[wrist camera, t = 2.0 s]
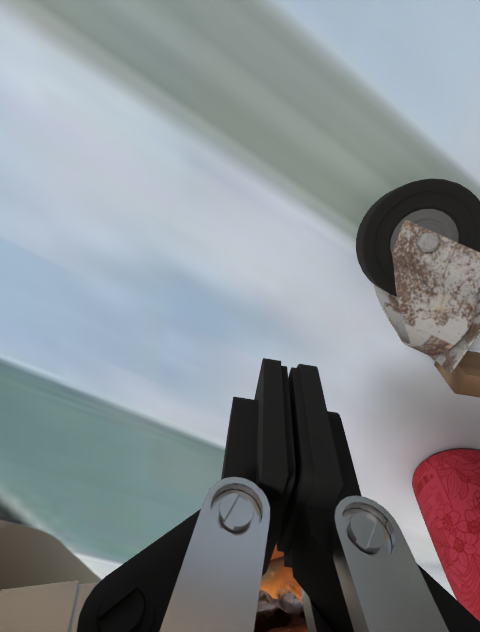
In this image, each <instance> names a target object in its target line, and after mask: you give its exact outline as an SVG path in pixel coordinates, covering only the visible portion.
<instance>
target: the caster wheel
mask: <svg viewBox="0 0 480 632" xmlns="http://www.w3.org/2000/svg"><path fill="white" fill-rule="evenodd" d="M356 252H357V258H358V261H359V264H360V266H361V268H362V271H363V272H364V274H365V275H366V276H367V278H368V279H369V280H370V281H371V282H372V283H373V284H374V286H375V291H376V294H377V297H378V300H379V302H380V304H381V306H382V308H383V310H384V312H385V314H386V316H387V317H388V319H389V321H390V322H391V324H392V325H393V327H394V328H395V330H396V332H397V333H398V335H399V337H400V339H401V341H402V342H403V343H404V344H405V345H408V346H410V347H412V348H414V349H416V350H418V351H421V352H423V353H425V354H427V355H429V356H430V357H431V358H433V359H434V360H435V361H436V362H437V363H439V364H440V365H441V366H442V367H443V368H445V369H446V370H447V371H448V372H449V373H451V372H452V371H453V370H454V369H455V368H456V366H457V365H458V363H459V362H460V360H461V359H462V357H463V356H464V355H465V353H466V352H467V350H468V349H469V347H470V346H471V344H472V343H473V342H474V340H475V339H476V337H477V336H478V334H479V333H480V201H479V199H478V198H477V197H476V196H475V195H474V194H473V193H472V192H471V191H470V190H468V189H467V188H465V187H463V186H462V185H460V184H458V183H455V182H451V181H448V180H444V179H425V180H419V181H415V182H411V183H409V184H406V185H404V186H401V187H399V188H397V189H395V190H393V191H391V192H389V193H387V194H385V195H384V196H383V197H381V198H380V199H379V200H378V201H377V202H376V203H375V204H374V205H373V206H372V207H371V208H370V209H369V211H368V212H367V213H366V215H365V216H364V218H363V220H362V222H361V224H360V227H359V230H358V233H357V238H356Z"/></svg>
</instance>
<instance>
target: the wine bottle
mask: <svg viewBox="0 0 480 632" xmlns="http://www.w3.org/2000/svg"><path fill="white" fill-rule="evenodd" d="M412 485H413V490H414V493H415V496H416V499H417V502H418V505H419V508H420V510H421V513H422V516H423V519H424V521H425V524H426V526H427V529H428V532H429V534H430V537H431V539H432V542H433V545H434V547H435V550H436V552H437V555H438V557H439V560H440V562H441V565H442V567H443V570H444V572H445V574H446V577H447V579H448V581H449V584H450V586H451V588H452V590H453V593H454V595H455V597H456V599H457V601H458V602H459V603H460V604H461V605H462V606H464V607H465V608H466V609H467V610H468V611H469V612H470V613H471V614H472V615H473V616H474V617H475V618H477V619H478V620H479V621H480V451H476V450H471V449H454V450H448V451H443V452H440V453H437V454H435V455H433V456H431V457H429V458H428V459H426V460H425V461H423V462H422V463H421V464H420V465H419V466H418V467H417V469H416V470H415V472H414V475H413V479H412Z"/></svg>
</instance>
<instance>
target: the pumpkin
mask: <svg viewBox="0 0 480 632" xmlns="http://www.w3.org/2000/svg"><path fill="white" fill-rule="evenodd" d="M254 632H308V628H307V623H306V617H305V612H304V607H303V602H302V592H301V586H300V585H299V584H298V583H297V581H296V580H295V579H294V578H293V571H292V568H290V567H284V552H279V551H277V547H276V546H275V549H274V552H273V554H272V557H271V560H270V563H269V566H268V569H267V572H266V573H265V574H264V575H263V576H262V577H261V584H260V591H259V598H258V605H257V612H256V619H255V626H254Z"/></svg>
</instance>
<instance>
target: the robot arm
mask: <svg viewBox="0 0 480 632" xmlns="http://www.w3.org/2000/svg"><path fill="white" fill-rule="evenodd" d="M275 546H276V547H277V551H279V552H284V567H290V568H292V571H293V578H294V579H295V580H296V581H297V583H298V584H299V585H300V586H301V592H302V602H303V607H304V612H305V617H306V623H307V628H308V632H480V621H479V620H478V619H477V618H475V617H474V616H473V615H472V614H471V613H470V612H469V611H468V610H467V609H466V608H465V607H464V606H462V605H461V604H460V603H459V602H458V601H457V600H456V599H455V598H454V597H453V596H452V595H451V594H449V593H448V592H447V591H446V590H445V589H444V588H443V587H442V586H441V585H440V584H439V583H438V582H436V581H435V580H434V579H433V578H432V577H431V576H430V575H429V574H428V573H427V572H426V571H425V570H423V569H422V568H421V567H420V566H419V565H418V564H417V563H416V561H415V559H414V557H413V555H412V553H411V551H410V548H409V546H408V544H407V542H406V540H405V538H404V536H403V534H402V532H401V530H400V528H399V526H398V524H397V523H396V521H395V519H394V518H393V517H392V516H391V514H390V513H389V512H388V511H387V510H386V509H385V508H384V507H382V506H381V505H379V504H378V503H377V502H375V501H373V500H371V499H368V498H366V497H362V496H361V492H360V489H359V485H358V481H357V477H356V474H355V470H354V466H353V462H352V459H351V455H350V451H349V447H348V443H347V440H346V436H345V432H344V428H343V425H342V421H341V418H340V415H339V414H338V413H335V412H329V411H327V408H326V404H325V399H324V395H323V390H322V386H321V381H320V377H319V372H318V368H317V367H316V366H310V365H303V364H298V366H297V368H291V370H290V374H289V377H288V372H287V367H286V366H281V361H277V360H271V359H265V358H263V361H262V365H261V370H260V375H259V380H258V385H257V389H256V394H255V399H254V400H252V399H245V398H239V397H233V403H232V409H231V415H230V421H229V428H228V434H227V441H226V449H225V456H224V463H223V471H222V478H221V480H220V481H218V482H216V483H215V484H214V485H213V486H212V487H211V488H210V489H209V491H208V493H207V495H206V497H205V499H204V502H203V505H202V508H201V509H200V510H199V511H197V512H196V513H195V514H193V515H192V516H190V517H189V518H187V519H186V520H185V521H183V522H182V523H180V524H179V525H178V526H176V527H175V528H173V529H172V530H171V531H169V532H168V533H166V534H165V535H164V536H162V537H161V538H159V539H158V540H157V541H155V542H154V543H152V544H151V545H150V546H148V547H147V548H145V549H144V550H142V551H141V552H140V553H138V554H137V555H135V556H134V557H133V558H131V559H130V560H128V561H127V562H126V563H124V564H123V565H121V566H120V567H119V568H117V569H116V570H114V571H113V572H112V573H110V574H109V575H107V576H106V577H105V578H104V579H103V580H102V581H100V582H96V583H88V584H80V585H79V581H78V580H77V581H70V582H61V583H53V584H45V585H37V586H29V587H21V588H12V589H5V590H0V632H254V626H255V619H256V612H257V605H258V598H259V591H260V584H261V577H262V576H263V575H264V574H265V573H266V572H267V569H268V566H269V563H270V560H271V557H272V554H273V552H274V549H275Z"/></svg>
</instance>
